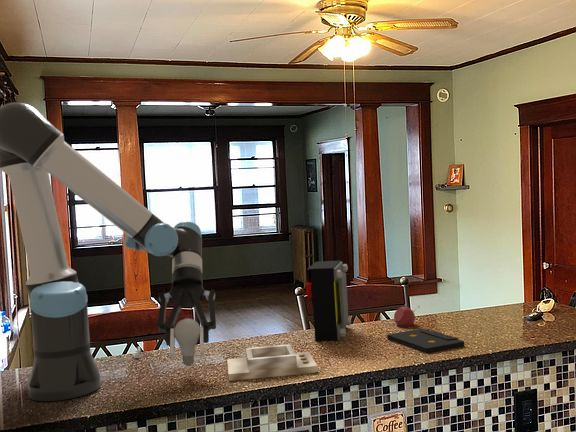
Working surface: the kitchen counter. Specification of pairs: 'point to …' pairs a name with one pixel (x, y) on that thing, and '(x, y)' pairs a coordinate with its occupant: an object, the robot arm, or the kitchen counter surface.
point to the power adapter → (137, 353)
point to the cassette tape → (425, 340)
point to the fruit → (404, 317)
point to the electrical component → (328, 299)
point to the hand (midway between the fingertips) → (187, 355)
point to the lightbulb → (187, 339)
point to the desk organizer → (270, 363)
